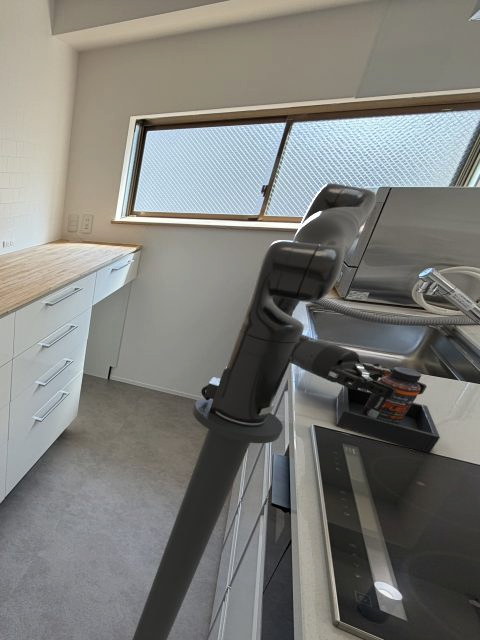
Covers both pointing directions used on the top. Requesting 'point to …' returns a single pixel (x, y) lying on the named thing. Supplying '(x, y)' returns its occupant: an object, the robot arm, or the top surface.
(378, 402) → the supplement bottle
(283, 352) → the robot arm
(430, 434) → the bin
